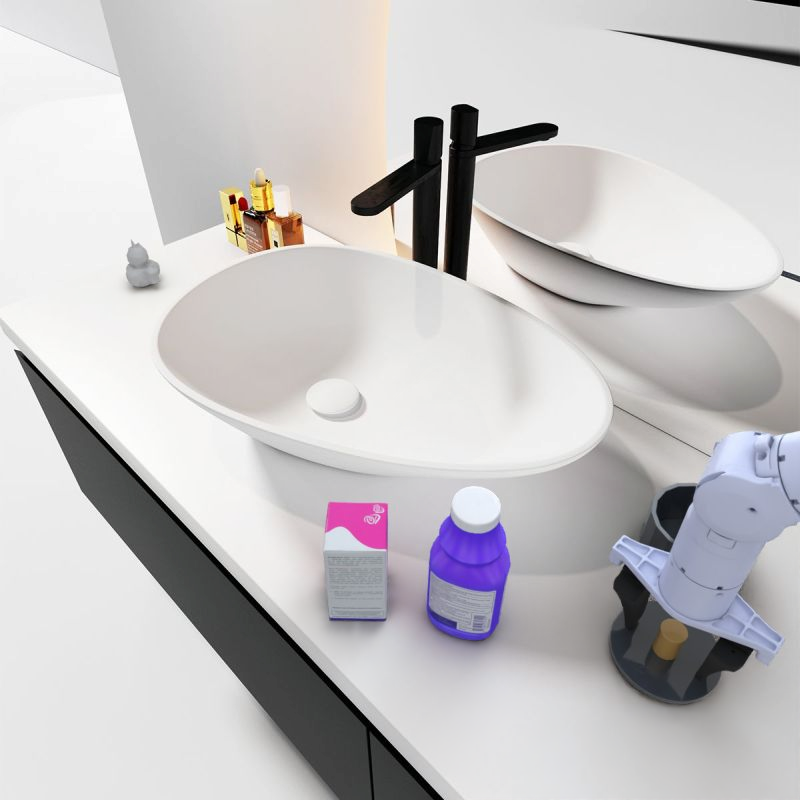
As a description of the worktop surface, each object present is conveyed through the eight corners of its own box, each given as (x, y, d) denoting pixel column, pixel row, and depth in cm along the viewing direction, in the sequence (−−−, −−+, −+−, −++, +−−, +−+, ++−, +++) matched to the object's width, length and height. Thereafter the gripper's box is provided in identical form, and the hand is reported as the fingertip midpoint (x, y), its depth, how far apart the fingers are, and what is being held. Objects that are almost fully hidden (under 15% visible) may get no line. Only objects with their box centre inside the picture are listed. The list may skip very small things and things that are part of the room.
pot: (747, 552, 74) (766, 517, 70) (705, 609, 69) (723, 574, 65) (666, 504, 79) (679, 468, 75) (622, 553, 74) (634, 519, 70)
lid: (737, 653, 65) (752, 629, 63) (686, 731, 60) (700, 709, 57) (642, 588, 71) (652, 564, 68) (587, 655, 65) (595, 631, 63)
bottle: (506, 602, 70) (526, 488, 58) (492, 653, 66) (511, 542, 54) (436, 582, 71) (442, 468, 60) (419, 630, 67) (421, 518, 56)
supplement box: (388, 622, 68) (386, 552, 60) (328, 621, 68) (318, 552, 61) (390, 571, 72) (388, 500, 65) (333, 571, 72) (324, 500, 65)
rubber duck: (147, 271, 116) (135, 227, 111) (174, 283, 114) (162, 239, 108) (120, 285, 113) (106, 241, 108) (147, 298, 110) (134, 254, 105)
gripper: (823, 582, 54) (762, 667, 63) (652, 483, 61) (620, 572, 70) (785, 644, 50) (727, 725, 59) (609, 530, 57) (581, 617, 67)
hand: (666, 645), depth 64 cm, fingers open, 6 cm apart
